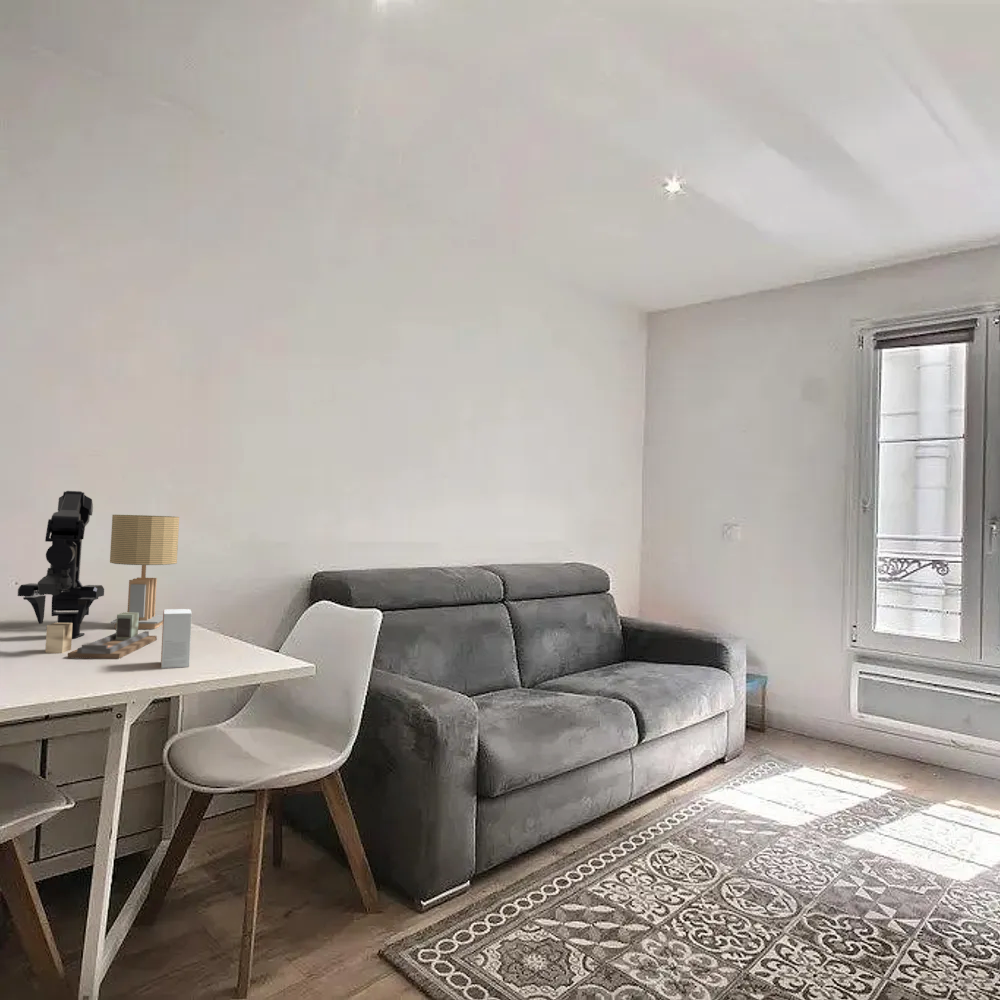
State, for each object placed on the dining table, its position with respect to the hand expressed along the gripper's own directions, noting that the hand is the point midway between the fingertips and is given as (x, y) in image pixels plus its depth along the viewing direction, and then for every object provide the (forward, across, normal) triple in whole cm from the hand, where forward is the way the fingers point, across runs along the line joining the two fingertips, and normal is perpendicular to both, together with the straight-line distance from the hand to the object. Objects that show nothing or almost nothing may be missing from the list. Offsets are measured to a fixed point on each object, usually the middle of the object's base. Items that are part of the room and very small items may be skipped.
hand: (59, 624), depth 187 cm
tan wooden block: (+7, 0, 0) cm, 7 cm away
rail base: (+7, +12, +5) cm, 15 cm away
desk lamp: (+7, +5, +45) cm, 46 cm away
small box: (+7, +33, -15) cm, 37 cm away
